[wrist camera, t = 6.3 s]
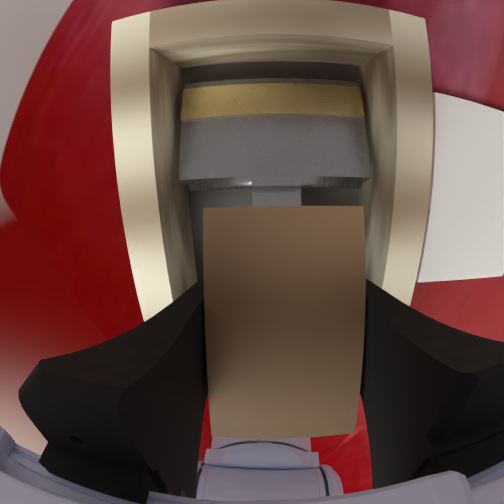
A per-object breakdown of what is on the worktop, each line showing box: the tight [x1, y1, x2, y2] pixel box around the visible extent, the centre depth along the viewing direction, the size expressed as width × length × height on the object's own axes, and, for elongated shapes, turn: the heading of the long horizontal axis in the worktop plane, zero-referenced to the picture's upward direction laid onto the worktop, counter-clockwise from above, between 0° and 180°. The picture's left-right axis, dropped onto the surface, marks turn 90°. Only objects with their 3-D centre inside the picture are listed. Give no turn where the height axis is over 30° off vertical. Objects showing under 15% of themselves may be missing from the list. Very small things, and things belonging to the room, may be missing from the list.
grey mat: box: [416, 92, 504, 282], centre depth 18 cm, size 14×10×1 cm
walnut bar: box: [203, 206, 366, 439], centre depth 9 cm, size 7×4×2 cm, turn 1°
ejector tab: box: [179, 78, 371, 206], centre depth 15 cm, size 14×10×2 cm
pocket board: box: [111, 0, 433, 322], centre depth 16 cm, size 20×15×6 cm
